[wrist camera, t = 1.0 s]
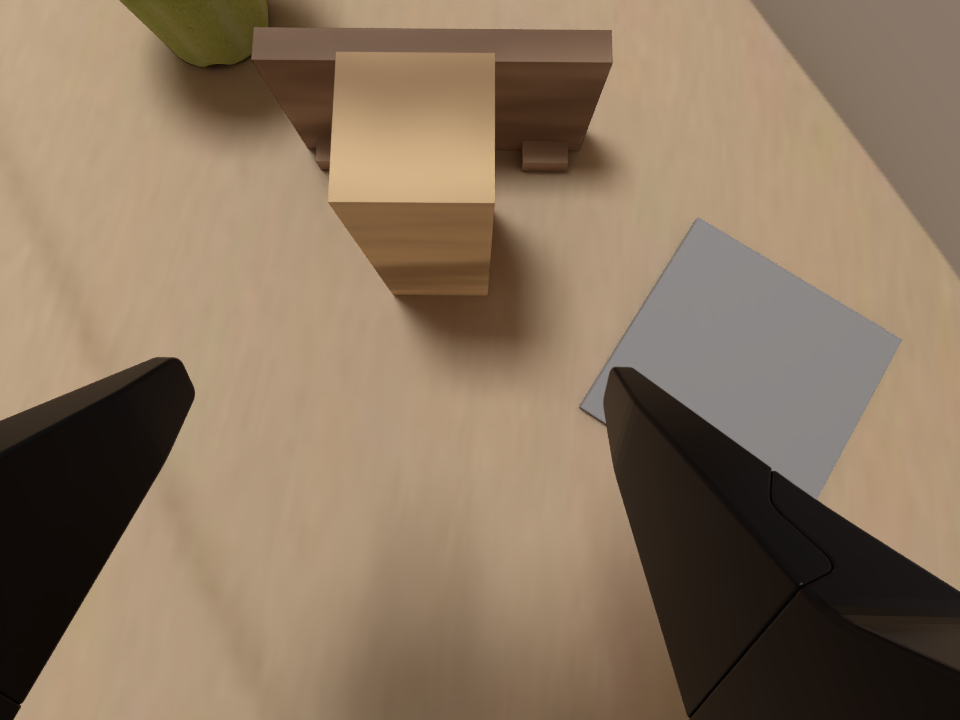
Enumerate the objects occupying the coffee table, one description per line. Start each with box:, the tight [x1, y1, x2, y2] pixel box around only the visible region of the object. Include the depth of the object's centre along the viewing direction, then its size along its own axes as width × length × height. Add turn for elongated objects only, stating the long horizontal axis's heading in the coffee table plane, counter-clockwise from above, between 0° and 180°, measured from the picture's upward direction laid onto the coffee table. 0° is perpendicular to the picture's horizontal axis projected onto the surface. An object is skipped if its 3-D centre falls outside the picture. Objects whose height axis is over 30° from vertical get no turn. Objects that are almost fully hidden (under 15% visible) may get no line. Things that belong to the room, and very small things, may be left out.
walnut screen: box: [251, 27, 613, 171], centre depth 21 cm, size 4×15×6 cm, turn 90°
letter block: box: [328, 52, 495, 295], centre depth 18 cm, size 5×5×10 cm
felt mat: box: [579, 218, 902, 500], centre depth 22 cm, size 12×12×1 cm
